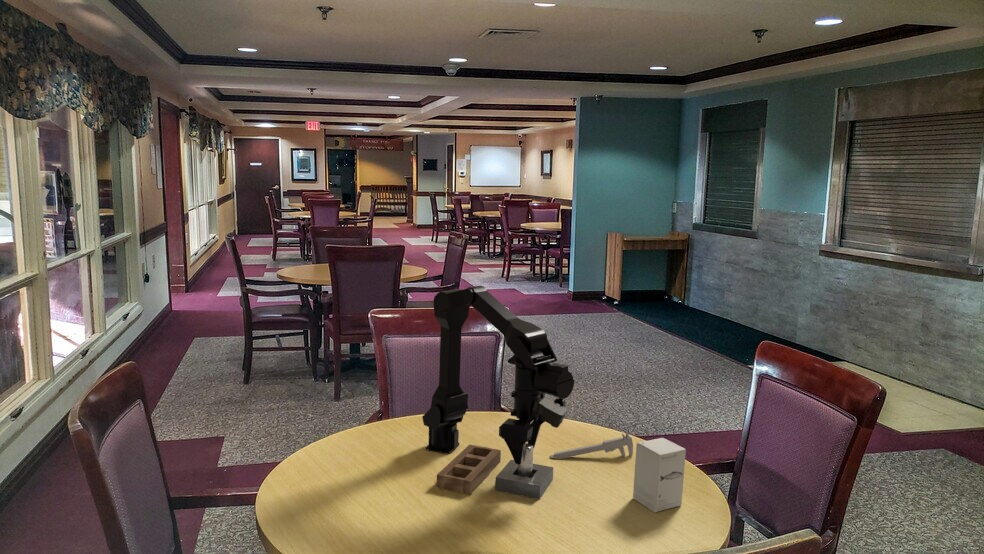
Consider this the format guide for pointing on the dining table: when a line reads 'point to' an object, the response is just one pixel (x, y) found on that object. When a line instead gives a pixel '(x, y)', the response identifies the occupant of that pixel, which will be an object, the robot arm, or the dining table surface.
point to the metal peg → (526, 462)
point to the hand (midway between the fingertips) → (525, 455)
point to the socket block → (524, 480)
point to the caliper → (599, 448)
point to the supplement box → (659, 474)
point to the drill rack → (468, 469)
